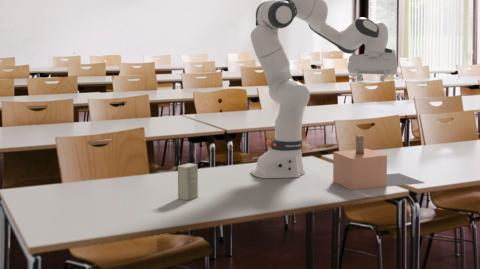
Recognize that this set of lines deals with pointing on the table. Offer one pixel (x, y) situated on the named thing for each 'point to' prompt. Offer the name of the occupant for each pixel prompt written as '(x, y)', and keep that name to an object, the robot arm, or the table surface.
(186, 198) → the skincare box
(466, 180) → the table surface
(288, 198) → the table surface
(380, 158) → the box with top peg
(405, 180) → the mat
